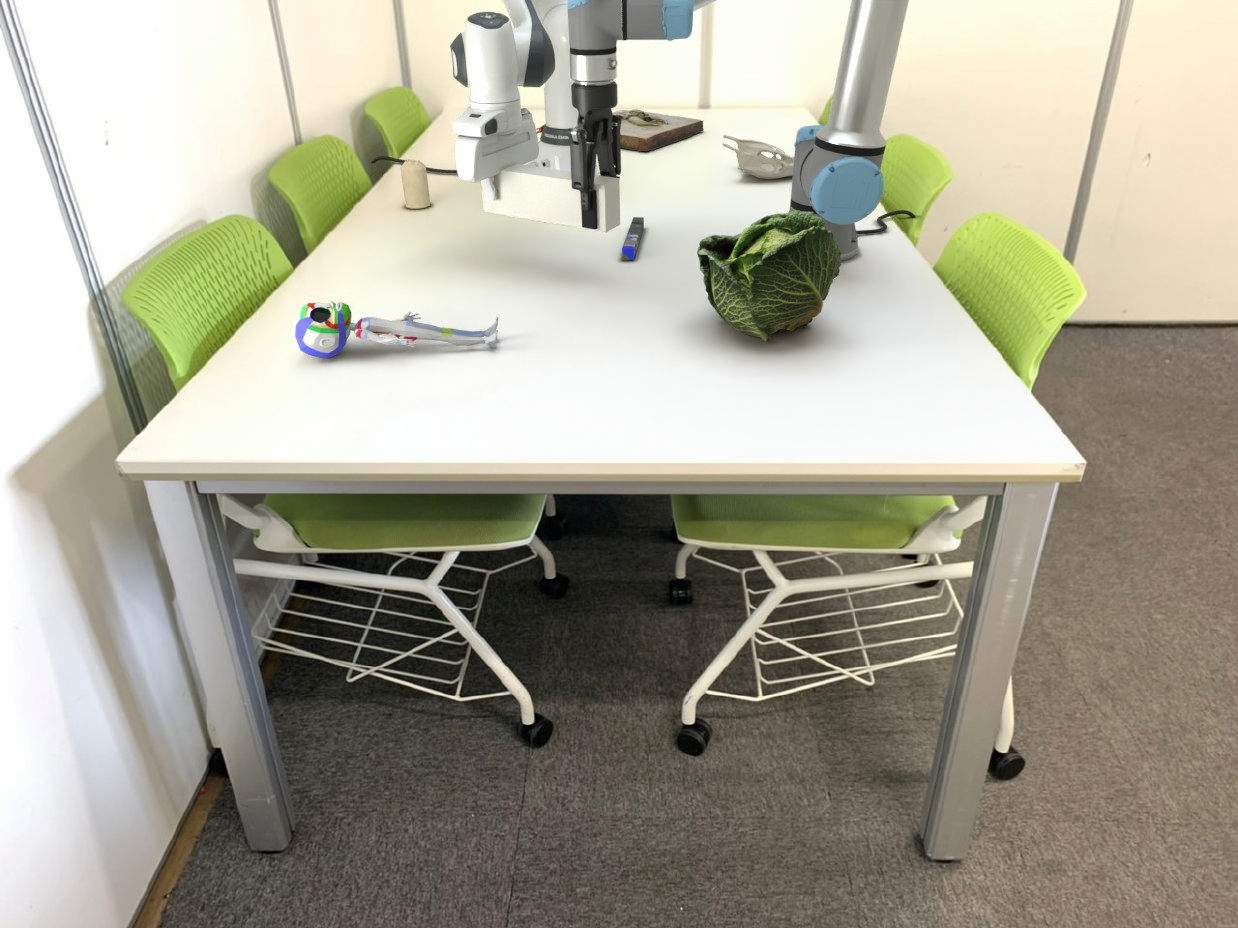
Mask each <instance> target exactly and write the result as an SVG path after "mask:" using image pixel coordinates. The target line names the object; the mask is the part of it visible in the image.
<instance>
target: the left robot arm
mask: <svg viewBox="0 0 1238 928" xmlns="http://www.w3.org/2000/svg"><path fill="white" fill-rule="evenodd" d="M501 1H502V3H503V4H504V6H505V9H506V11H507V14H508V16H509V17H508V16H507V15H505V14H503V13H501V12H495V11H480V12H475V13H473V14H470V15H469V16H468V17H467V18H466V19H465V22H464V23H465V24H464V29H465V31H463V32H459V34H457V35H456V37H454V39H453V41H452V42H451V43H450V45H449V46H450V52H451V53H450V54H451V59H452V62H451V63H452V76H453V78H454V79H455V80H456V81H457V82H458V83H460V84H461V85H462V86H463V87H464V88H469V89H470V92H469V106H468V107H467V108H466V109H465V110H464V111H463V112H462V114H460V115H459V116H458V117H457V118H456V119H454V120H453V122H452V132H453V134H454V135H458V136H457V137H456V138H455V141H454V142H455V143H454V157H455V166H456V169H441V168H433V167H428V166H426V172H430V173H436V174H451V175H452V174H454V175H455V174H457V175H458V177H459V178H460V180H461V181H462V182H468V183H473V184H474V183H478V182H480V185H481V184H482V186H483V187H484V189H485V190H486V198H487V200H490V201H494V200H496V199H498V198H499V195H498V189H495V188H494V185H493V183H492V182H494V175H497V174H499V173H500V171H501V170H502V169H505V168H508V167H510V166H513V165H515V164H520V165H528V166H535V167H542V168H549V169H556V170H564V171H571V156H570V141H569V137H568V129H569V128H575V127H576V126H577V120H578V114H579V112H578V110H577V109H576V108H574V107H573V106H572V95H571V85H572V83H574V80H572V79H571V78H570V45H569V27H568V9H567V7H568V0H501ZM542 86H543V96H544V97H543V100H544V102H543V103H544V118H545V119H544V120H545V121H544V122H545V123H544V124H543V125H541V126H540V127H536V124H535V122H534V120H533V119H534V118H533V114H532V113H531V111H530V110H529V109H528V108H527V107H522V103H521V102H522V101H521V93H520V91H519V87H523V88H541V87H542ZM538 134H540V138H539V137H538ZM586 143H590V142H586ZM590 144H593V143H590ZM596 158H597V156H596ZM382 160H383V161H390V162H394V163H398V164H403V163H404V162H405V161H406V160H407V159H401V158H396V157H392V156H386V155H380V156H379V155H378V156H376V157H375V158H373V159H372V160H371V162H370V164H376V163H377V162H379V161H382ZM595 175H600V172H599V167H598V161H596V166H595Z"/></svg>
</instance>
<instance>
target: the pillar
mask: <svg viewBox="0 0 1238 928" xmlns="http://www.w3.org/2000/svg"><path fill="white" fill-rule="evenodd" d="M644 229H645V217H644V216H643V217H642V216H633V217H632V219H631V223H630V225H629V228H628V232H627V233H626V237H625V238H624V242H623V245H622V247H621V260H622V261H634V260H635V257H636V254H637V251H638V247H639V244H640V241H641V238H642V235H643V233H644Z"/></svg>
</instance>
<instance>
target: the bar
mask: <svg viewBox="0 0 1238 928" xmlns="http://www.w3.org/2000/svg"><path fill="white" fill-rule="evenodd" d="M492 183H493V185H494V188H495V189H498V195H499V198H498V199H496V200H494V201H490V200H487V198H486V190H485V189H484V187H483V186H482V184H481V183H480V185H481V187H480V188H481V195H482V207H483V212H484V213H489V214H494V215H500V216H506V217H513V218H517V219H522V220H523V219H524V220H529V221H536V222H542V223H548V224H553V225H560V226H566V227H569V228H570V227H571V228H577V229H583V230H589V231H594V232H599V233H600V232H601V233H608V232H610V231H611V230H613V229H615V228H617V227H619V226H621V198H620V196H621V195H620V194H621V192H620V189H621V187H620V186H621V185H620V179H619V178H614V177H607V176H600V174H599V175H595V176H594V187H593V190H596V194H597V227H598V228H597V229H589V228H583V227H582V212H581V198H580V191H579V190H575V189H572V182H571V171H564V170H556V169H549V168H542V167H535V166H528V165H520V164H515V165H513V166H510V167H508V168H505V169H502V170H501V171H500V173H499V174H497V175H494V182H492Z"/></svg>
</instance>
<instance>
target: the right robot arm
mask: <svg viewBox="0 0 1238 928" xmlns="http://www.w3.org/2000/svg"><path fill="white" fill-rule="evenodd" d="M715 2H717V0H568V7H567V9H568V27H569V45H570V78H571V79H572V80H574V83H572V85H571V95H572V106H573V107H574V108H576V109H577V110H578V112H579V114H578V120H577V126H576V127H575V128H569V129H568V137H569V141H570V156H571V182H572V189H575V190H579V191H580V198H581V212H582V227H583V228H589V229H597V228H598V227H597V194H596V190H593V187H594V176H595V166H596V162H597V165H598V171H599V175H600V176H607V177H614V178H619V180H620V178H621V176H620V175H621V173H622V150H621V149H622V148H621V142H620V128H621V121H622V117H621V115H613V110H612V109H614V108H616V107H617V106H618V103H619V102H618V101H619V100H618V99H619V97H618V83H617V82H616V81H614V80H616V79H617V77H618V69H617V68H618V67H617V66H618V60H617V52H618V51H617V49H618V47H617V41H669V42H672V41H674V40H685V39H688V38H690V36H691V35H692V32H693V26H694V12H696V11H698V10H700V9H702V8H704V7H706V6H708V5H710V4H712V3H715ZM909 2H910V0H851V1H850V6H849V12H848V17H847V21H846V22H847V23H846V26H845V32H844V36H843V41H842V47H841V51H840V57H839V62H838V68H837V72H836V78H835V83H834V89H833V93H832V99H831V103H830V109H829V115H828V119H827V123H826V124H815V125H813V124H812V125H805V126H802V127H800V128H798V130H797V132H796V137H795V142H794V144H793V146H794V154H793V155H794V156H793V157H794V167H793V176H792V179H791V192H790V193H791V194H790V204H789V210H788V212H787V213H790V212H792V211H793V210H797V211H798V210H799V211H801V212H813V213H814V215H815V216H817V217H819V218H822V219H823V221H824V222H825V226H826V229H827V231H830V230H831V232H832V234H833V235H834V239H835V241H836V242H837V243H838V245H839V249H840V251H841V253H842V254H841V256H840V262H843V261H844V262H845V261H847V260H850V259H852V258H854V257H855V256H856V255H857V253H858V247H859V239H858V235H869V234H879V233H883V232H885V231H886V230H887V229H888V225H887V223H885V222H884V221H883V220H884V219H888V218H889V217H892V216H897V215H906V216H909V217H910V218H912V219H915V218H916V215H915V214H914V213H913V212H912V211H910V210H906V209H899V210H893V211H889V212H887V213H883V214H882V215H879V216H878V217H877V219H876V222H877V223H878V224H879V226H881V227H880V228H875V229H860V230H857V228H856V224H855V223H858V222H860V221H863V219H865V218H867V217H868V216H869V215H871V214H872V213H873V212H874V211H875V210H876V208H877V207H878V206H879V204H880V202H881V201H882V198H883V194H884V189H885V181H884V175H883V173H882V170H881V168H882V163H883V160H884V155H885V150H886V146H887V140H886V139H885V137H884V136H883V134H882V132H881V126H882V122H883V117H884V113H885V109H886V104H887V100H888V96H889V91H890V86H891V82H892V77H893V73H894V68H895V64H896V60H897V55H898V51H899V46H900V43H901V38H902V33H903V28H904V23H905V19H906V15H907V10H908V7H909ZM612 128H613V129H612ZM586 142H590V143H593V144H590V143H586ZM596 156H597V157H596Z"/></svg>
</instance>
